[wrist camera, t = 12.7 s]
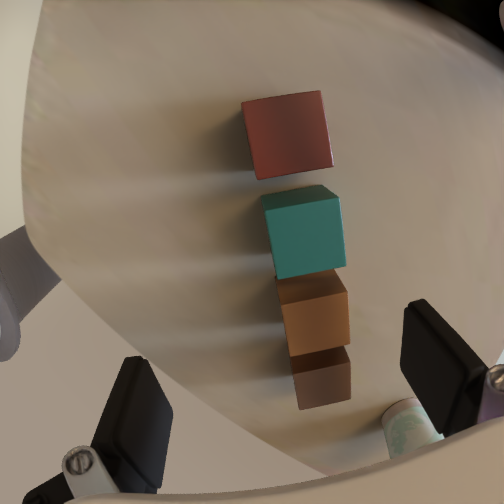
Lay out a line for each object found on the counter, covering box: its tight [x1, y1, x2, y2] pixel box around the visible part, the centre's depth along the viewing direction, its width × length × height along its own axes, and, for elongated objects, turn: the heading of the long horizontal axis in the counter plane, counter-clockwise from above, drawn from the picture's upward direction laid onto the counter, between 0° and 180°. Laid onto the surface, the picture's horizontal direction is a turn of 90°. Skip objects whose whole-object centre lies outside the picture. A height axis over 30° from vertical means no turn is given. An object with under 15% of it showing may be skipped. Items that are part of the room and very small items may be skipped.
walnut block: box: [287, 344, 351, 410], centre depth 28 cm, size 5×5×5 cm
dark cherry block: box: [241, 91, 334, 180], centre depth 21 cm, size 5×5×5 cm
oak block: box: [275, 269, 350, 357], centre depth 26 cm, size 5×5×5 cm
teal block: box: [261, 185, 346, 280], centre depth 24 cm, size 5×5×5 cm
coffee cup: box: [382, 398, 445, 459], centre depth 30 cm, size 8×9×12 cm
